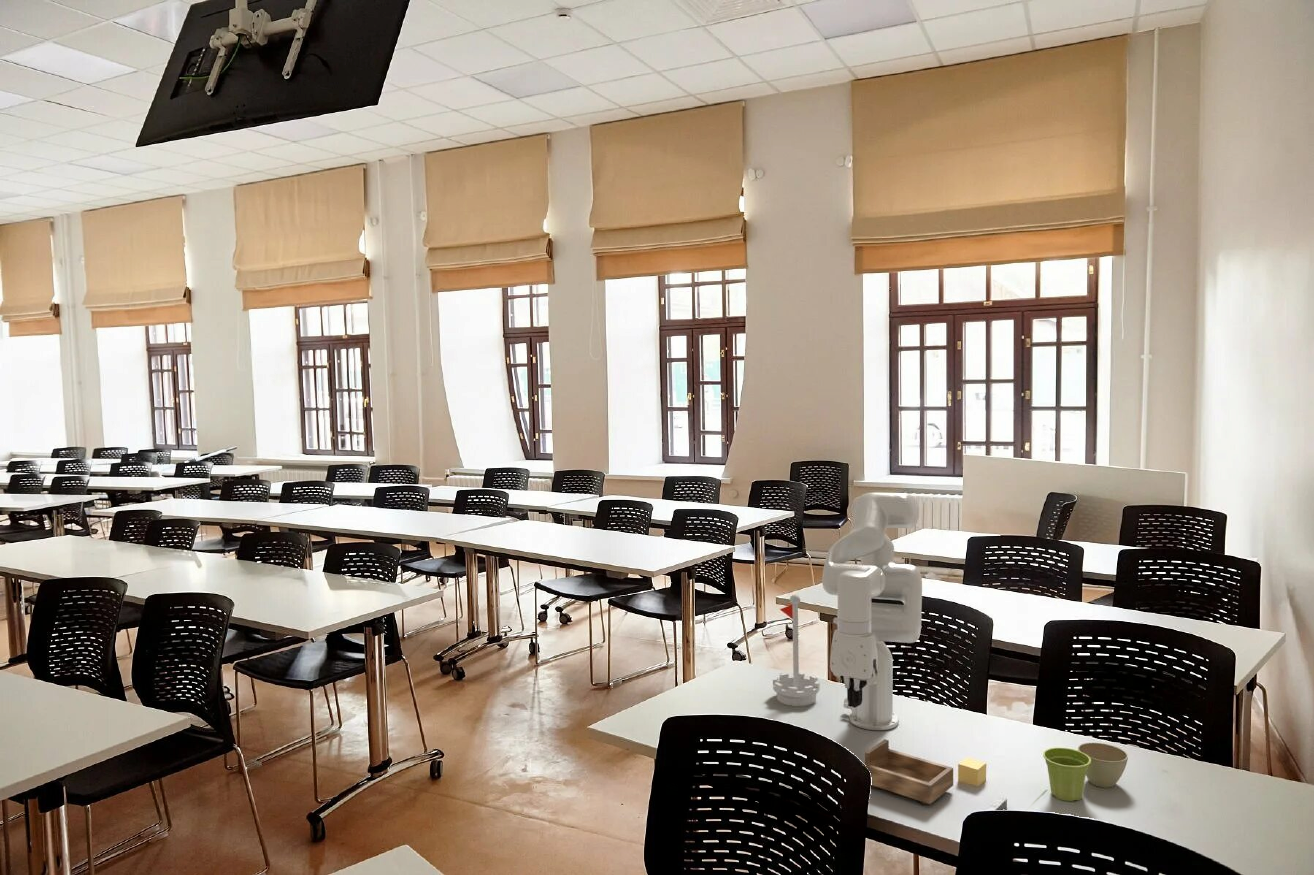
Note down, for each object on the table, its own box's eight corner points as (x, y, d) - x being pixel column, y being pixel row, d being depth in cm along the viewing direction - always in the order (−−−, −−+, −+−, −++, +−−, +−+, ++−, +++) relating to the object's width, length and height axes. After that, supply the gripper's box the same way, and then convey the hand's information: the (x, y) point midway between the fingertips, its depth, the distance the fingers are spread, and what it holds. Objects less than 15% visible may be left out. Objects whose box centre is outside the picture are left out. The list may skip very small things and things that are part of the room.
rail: (862, 789, 203) (862, 779, 203) (887, 772, 211) (886, 762, 211) (985, 830, 184) (985, 819, 184) (1006, 810, 192) (1006, 799, 192)
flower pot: (1107, 797, 197) (1108, 765, 196) (1067, 779, 205) (1067, 748, 205) (1137, 786, 201) (1138, 755, 201) (1097, 769, 210) (1097, 739, 209)
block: (958, 783, 205) (958, 764, 204) (966, 776, 208) (966, 757, 208) (977, 789, 202) (977, 769, 201) (986, 782, 205) (986, 763, 205)
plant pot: (1087, 809, 191) (1087, 769, 191) (1039, 799, 196) (1039, 760, 196) (1092, 791, 199) (1093, 753, 199) (1046, 781, 204) (1047, 744, 204)
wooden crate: (862, 787, 203) (862, 753, 202) (887, 770, 211) (886, 737, 210) (930, 809, 192) (930, 774, 191) (953, 791, 200) (953, 757, 199)
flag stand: (828, 697, 259) (827, 593, 256) (803, 711, 249) (802, 603, 246) (789, 687, 267) (788, 586, 265) (764, 700, 257) (762, 595, 255)
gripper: (817, 624, 210) (817, 702, 211) (875, 635, 199) (876, 718, 201) (834, 617, 215) (835, 693, 216) (892, 628, 205) (892, 708, 206)
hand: (854, 705), depth 208 cm, fingers closed
